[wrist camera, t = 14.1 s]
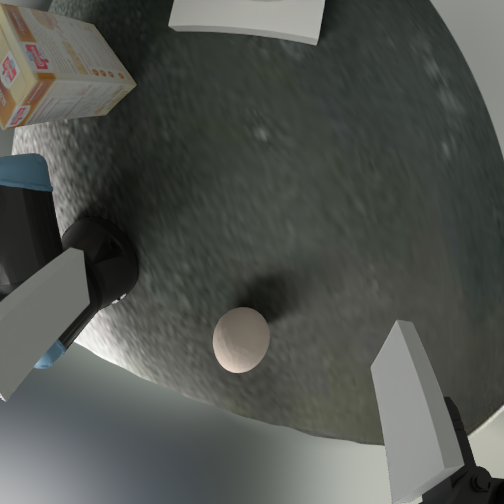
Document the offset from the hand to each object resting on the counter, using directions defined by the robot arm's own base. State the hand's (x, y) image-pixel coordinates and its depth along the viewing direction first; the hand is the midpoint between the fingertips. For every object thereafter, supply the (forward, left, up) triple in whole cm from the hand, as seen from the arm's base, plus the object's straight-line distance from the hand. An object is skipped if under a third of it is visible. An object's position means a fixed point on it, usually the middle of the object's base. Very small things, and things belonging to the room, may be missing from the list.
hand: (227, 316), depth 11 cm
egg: (0, -22, -29) cm, 36 cm away
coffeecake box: (-28, +13, -29) cm, 42 cm away
